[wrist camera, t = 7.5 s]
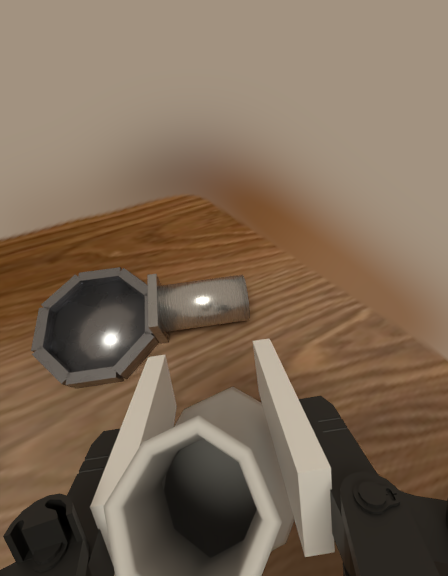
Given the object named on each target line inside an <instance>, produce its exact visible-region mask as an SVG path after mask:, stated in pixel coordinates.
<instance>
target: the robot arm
mask: <svg viewBox="0 0 448 576" xmlns="http://www.w3.org/2000/svg"><path fill="white" fill-rule="evenodd" d="M253 348H254V356H255V364H256V372H257V380H258V389H259V395H260V398H261V402H262V405H263V409H264V413H265V416H266V420H267V423H268V427H269V430H270V434H271V438H272V441H273V445H274V448H275V452H276V455H277V459H278V463H279V466H280V470H281V473H282V477H283V480H284V484H285V488H286V491H287V495H288V498H289V502H290V505H291V509H292V513H293V516H294V520H295V523H296V527H297V530H298V534H299V538H300V541H301V545H302V548H303V552H304V555H305V557H309V556H315V555H321V554H327V553H333V552H335V547H334V539H335V542H336V545H337V547H338V550H339V553H340V555H341V558H342V560H343V576H448V500H447V501H445V500H438V499H432V498H425V497H419V496H415V495H411V494H407V493H404V492H402V491H400V490H398V489H397V488H396V487H395V486H394V485H393V484H391V483H390V482H389V481H388V480H387V479H385V478H383V477H381V476H379V475H378V474H377V472H376V471H375V470H374V468H373V467H372V465H371V464H370V462H369V461H368V459H367V457H366V456H365V454H364V453H363V451H362V450H361V448H360V447H359V445H358V443H357V442H356V440H355V439H354V437H353V436H352V434H351V432H350V431H349V429H347V426H346V425H345V423H344V421H343V420H342V419H341V417H340V415H339V414H338V412H337V410H336V409H335V407H334V406H333V405H332V404H331V403H330V402H328V401H327V400H326V399H324V398H323V397H322V396H317V397H311V398H304V399H298V397H297V395H296V393H295V391H294V389H293V387H292V385H291V383H290V381H289V379H288V376H287V374H286V372H285V370H284V368H283V366H282V364H281V362H280V360H279V358H278V355H277V353H276V351H275V349H274V347H273V345H272V343H271V341H270V339H263V340H257V341H253ZM176 407H177V406H176V401H175V396H174V392H173V387H172V383H171V378H170V374H169V369H168V365H167V360H166V356H165V355H160V356H153V357H148V359H147V362H146V364H145V367H144V370H143V372H142V375H141V377H140V380H139V382H138V385H137V388H136V390H135V393H134V395H133V398H132V400H131V403H130V406H129V408H128V411H127V413H126V416H125V418H124V421H123V424H122V426H121V429H115V430H109V431H103V433H102V434H101V435H100V436H99V437H98V438H97V439H96V440H95V441H94V442H93V444H92V445H91V447H90V449H89V451H88V453H87V455H86V457H85V461H84V462H83V463H82V466H81V468H80V470H79V474H77V476H76V478H75V480H74V482H73V484H72V486H71V488H70V490H69V492H68V494H67V496H66V495H63V494H55V495H49V496H47V497H44V498H42V499H40V500H38V501H36V502H34V503H33V504H32V505H30V506H29V507H28V508H26V509H25V510H24V511H22V512H21V514H20V515H19V516H18V517H17V518H16V519H15V520H14V521H13V522H12V523H11V525H10V526H9V528H8V530H7V531H6V533H5V534H4V536H3V537H4V539H5V541H6V543H7V545H8V547H9V549H10V551H11V553H12V555H13V557H14V559H15V561H16V562H15V563H13V564H11V565H9V566H7V567H5V568H3V569H1V570H0V576H114V574H115V571H114V565H113V560H112V554H111V548H110V542H109V537H108V531H107V525H106V519H105V514H104V508H103V506H104V505H105V503H106V501H107V500H108V498H109V496H110V495H111V493H112V491H113V490H114V488H115V487H116V485H117V483H118V482H119V480H120V478H121V477H122V475H123V473H124V472H125V470H126V468H127V467H128V465H129V463H130V462H131V460H132V459H133V457H134V455H135V454H136V452H137V450H138V449H139V447H140V445H141V444H142V442H144V441H146V440H148V439H150V438H152V437H154V436H156V435H158V434H160V433H163V432H165V431H167V430H169V429H171V428H173V427H174V421H175V414H176ZM165 480H166V475H165V477H164V479H163V481H162V486H163V489H164V487H165Z"/></svg>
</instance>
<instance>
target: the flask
mask: <svg viewBox="0 0 448 576" xmlns="http://www.w3.org/2000/svg"><path fill="white" fill-rule="evenodd" d="M165 475H166V480H165V487H164V489H163V486H162V481H163V479H164V477H165ZM103 508H104V514H105V519H106V525H107V531H108V537H109V542H110V548H111V554H112V560H113V565H114V571H115V576H262V573H263V571H264V568H265V565H266V563H267V560H268V558H269V555H270V552H271V551H273V550H275V549H276V548H278V547H280V546H282V545H284V544H286V542H287V539H288V536H289V533H290V531H291V528H292V525H293V523H294V516H293V513H292V509H291V505H290V502H289V498H288V495H287V491H286V488H285V484H284V480H283V477H282V473H281V470H280V466H279V463H278V459H277V455H276V452H275V448H274V445H273V441H272V438H271V434H270V430H269V427H268V423H267V420H266V416H265V413H264V409H263V405H262V403H261V402H259V401H257V400H256V399H254V398H252V397H250V396H249V395H247V394H245V393H243V392H242V391H240V390H238V389H236V388H235V387H230V388H228V389H226V390H224V391H222V392H220V393H218V394H216V395H213V396H211V397H209V398H207V399H205V400H203V401H201V402H199V403H196V404H194V405H192V406H190V407H188V408H186V409H184V410H183V412H182V414H181V416H180V417H179V419H178V421H177V422H176V424H175V426H174V427H173V428H171V429H169V430H167V431H165V432H163V433H160V434H158V435H156V436H154V437H152V438H150V439H148V440H146V441H144V442H142V444H141V445H140V447H139V449H138V450H137V452H136V454H135V455H134V457H133V459H132V460H131V462H130V463H129V465H128V467H127V468H126V470H125V472H124V473H123V475H122V477H121V478H120V480H119V482H118V483H117V485H116V487H115V488H114V490H113V491H112V493H111V495H110V496H109V498H108V500H107V501H106V503H105V505H104V506H103Z"/></svg>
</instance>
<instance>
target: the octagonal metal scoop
mask: <svg viewBox="0 0 448 576" xmlns="http://www.w3.org/2000/svg"><path fill="white" fill-rule="evenodd" d="M41 305H42V306H43V307H44V308H39V311H38V317H37V322H36V327H35V333H34V338H33V344H32V349H31V351H33V352H34V353H33V354H32V355H33V356H34V357H35V358H36V359H37V360H38V361H39V362H40V363H41V364H42V365H43V366H44V367H45V368H46V369H47V370H48V371H49V372H50V373H51V374H52V375H53V376H54V377H55V378H56V379H57V380H58V381H59V382H60V383H61V384H64V385H67V386H70V387H73V388H82V387H88V386H95V385H102V384H108V383H115V382H122V381H123V377H124V378H126V379H127V378H128V377H129V376H130V375H131V374H132V373H133V372H134V370H135V369H136V368H137V367H138V366H139V365H140V364H141V363H142V361H143V360H144V359H145V358H146V357H147V356H148V355H149V353H150V352H151V351H152V350H153V349H154V348H155V347H156V345H157V344H158V343H159V342H160V343H166V342H168V332H169V331H176V330H183V329H190V328H197V327H204V326H211V325H218V324H224V323H231V322H238V321H245V320H249V318H250V311H249V301H248V294H247V288H246V283H245V279H244V276H243V275H236V276H229V277H221V278H214V279H207V280H200V281H192V282H185V283H178V284H171V285H163V286H162V285H161V283H160V281H159V279H158V277H157V274H152V275H148V285H146V284H145V283H144V282H142V281H141V280H140V279H138V278H137V277H135V276H134V275H133V274H131V273H130V272H128V271H127V270H126V269H124V268H123V269H121V268H112V269H105V270H97V271H90V272H82V273H79V277H78V276H77V275H74V276H73V277H72V278H71V279H70V280H69V281H68V282H66V283H65V284H64V285H63V286H62V287H61V288H60V289H58V290H57V291H56V292H55V293H54V294H53V295H52V296H51V297H49V298H48V299H47V300H46V301H45V302H44V303H43V304H41ZM157 340H158V341H159V342H158V341H157Z"/></svg>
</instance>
